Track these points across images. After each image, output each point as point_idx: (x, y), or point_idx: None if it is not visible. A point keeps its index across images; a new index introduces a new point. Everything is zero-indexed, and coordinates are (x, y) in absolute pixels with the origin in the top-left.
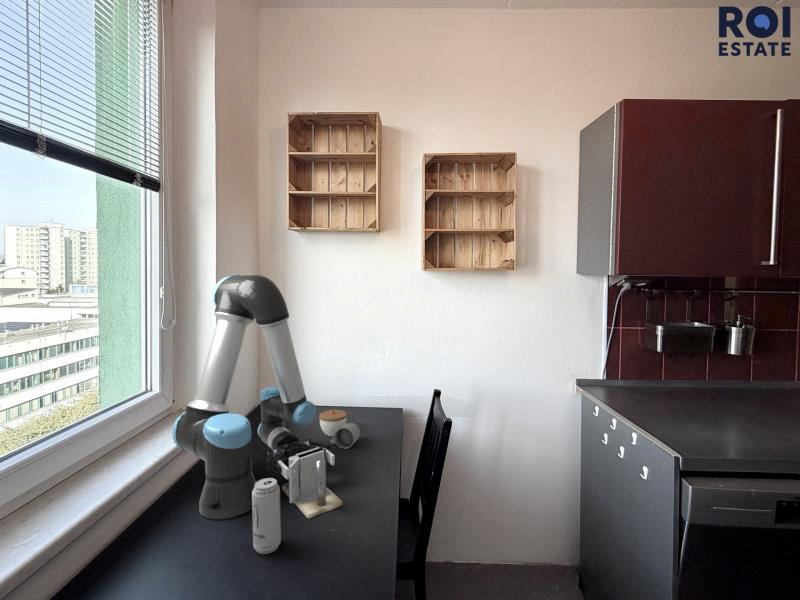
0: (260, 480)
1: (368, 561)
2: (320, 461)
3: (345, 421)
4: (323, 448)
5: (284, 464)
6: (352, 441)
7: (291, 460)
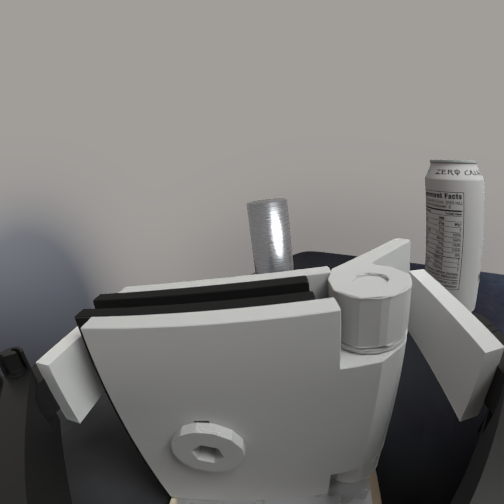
0: (470, 162)
1: (296, 268)
2: (274, 199)
3: None
4: (45, 361)
5: (440, 302)
6: None
7: (391, 271)
